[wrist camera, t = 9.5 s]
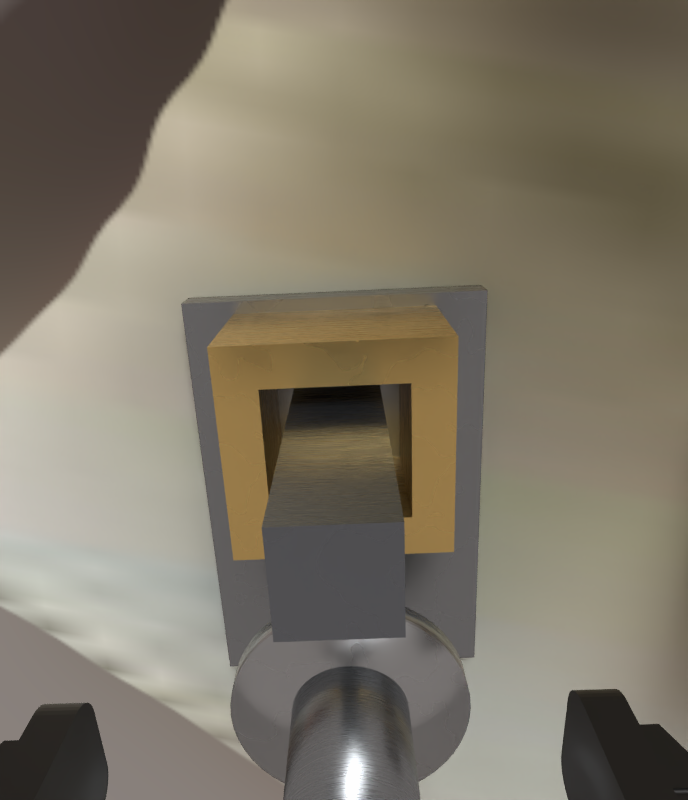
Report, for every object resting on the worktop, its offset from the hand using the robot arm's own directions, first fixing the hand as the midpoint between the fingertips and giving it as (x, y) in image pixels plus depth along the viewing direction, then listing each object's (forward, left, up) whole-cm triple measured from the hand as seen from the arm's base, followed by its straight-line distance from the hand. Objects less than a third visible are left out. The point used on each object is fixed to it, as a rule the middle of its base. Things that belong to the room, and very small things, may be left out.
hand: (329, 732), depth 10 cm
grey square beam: (0, 0, -16) cm, 16 cm away
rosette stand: (+5, 0, -17) cm, 18 cm away
